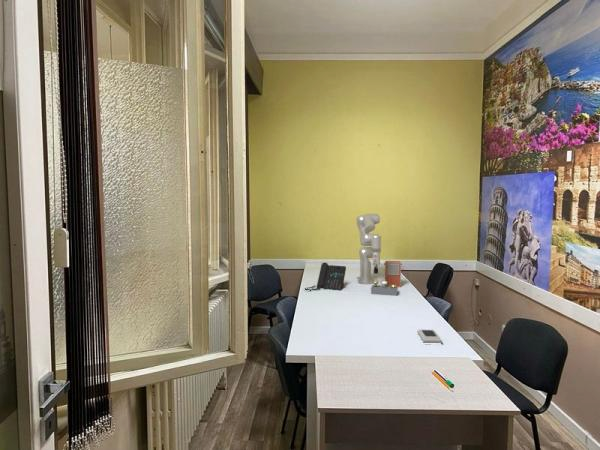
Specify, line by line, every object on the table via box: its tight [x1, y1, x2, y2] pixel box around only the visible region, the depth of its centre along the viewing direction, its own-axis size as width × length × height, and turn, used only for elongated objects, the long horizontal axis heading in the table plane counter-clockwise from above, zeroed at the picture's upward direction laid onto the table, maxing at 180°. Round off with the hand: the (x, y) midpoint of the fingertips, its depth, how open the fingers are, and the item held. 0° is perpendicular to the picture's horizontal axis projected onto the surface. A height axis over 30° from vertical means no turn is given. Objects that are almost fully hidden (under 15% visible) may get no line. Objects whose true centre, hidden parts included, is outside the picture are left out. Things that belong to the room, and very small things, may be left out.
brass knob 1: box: [372, 279, 379, 287], centre depth 316 cm, size 4×4×6 cm
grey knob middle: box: [381, 280, 387, 288], centre depth 314 cm, size 4×4×6 cm
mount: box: [370, 284, 399, 296], centre depth 315 cm, size 20×10×5 cm, turn 74°
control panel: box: [383, 260, 403, 288], centre depth 337 cm, size 21×7×15 cm
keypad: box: [416, 329, 443, 344], centre depth 218 cm, size 10×4×15 cm
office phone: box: [304, 262, 347, 291], centre depth 331 cm, size 29×28×20 cm
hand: (375, 273), depth 315 cm, fingers closed
